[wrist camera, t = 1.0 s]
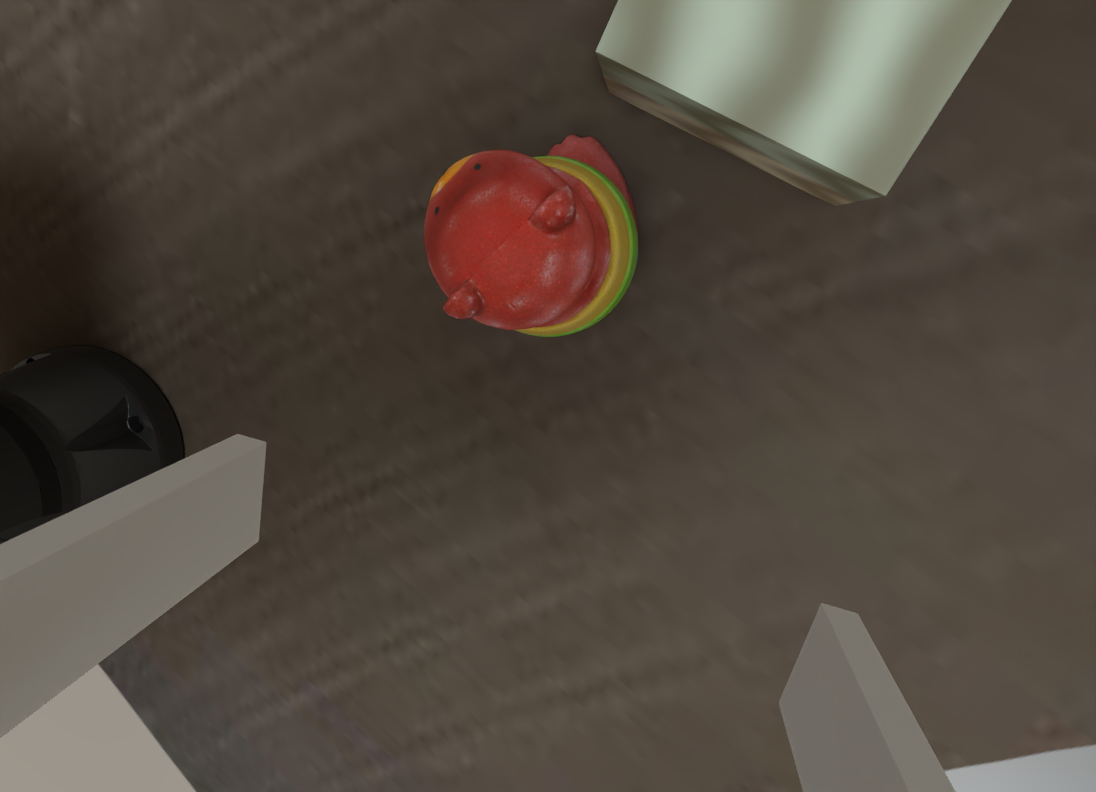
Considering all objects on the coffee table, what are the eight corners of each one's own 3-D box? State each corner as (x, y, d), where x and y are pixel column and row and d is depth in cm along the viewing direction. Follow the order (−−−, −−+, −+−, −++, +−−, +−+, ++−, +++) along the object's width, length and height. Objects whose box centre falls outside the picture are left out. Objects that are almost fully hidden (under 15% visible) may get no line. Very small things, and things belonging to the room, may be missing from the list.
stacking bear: (586, 120, 35) (521, 8, 18) (680, 256, 36) (700, 269, 19) (456, 231, 38) (298, 222, 22) (545, 353, 39) (462, 437, 23)
